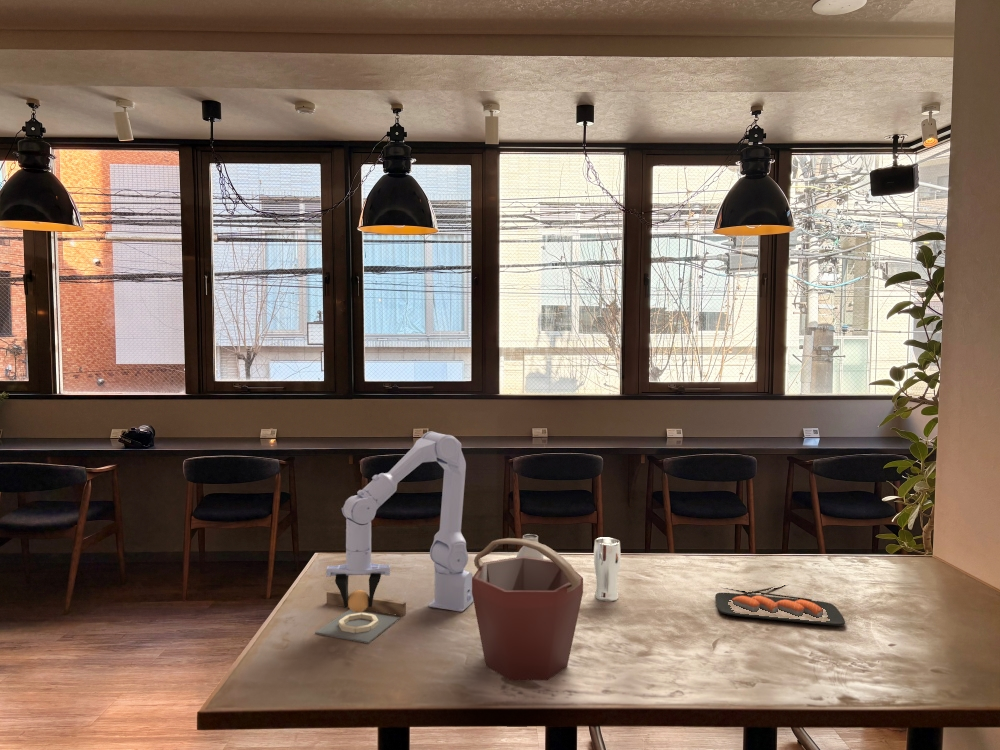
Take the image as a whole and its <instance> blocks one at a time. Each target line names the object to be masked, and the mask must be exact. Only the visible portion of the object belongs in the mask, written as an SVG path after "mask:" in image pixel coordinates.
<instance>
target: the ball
mask: <svg viewBox="0 0 1000 750" xmlns="http://www.w3.org/2000/svg"><path fill="white" fill-rule="evenodd" d="M349 594H350V595H349V597H348V606H349V607H348V608H349V609H350V610H352V611H354V612H362V611H363V612H365V611H366V610H365V609H366V608H367V607H368V605H369V594H368V592H367V591H365V590H363V589H355V590H353V591H352V592H351V593H349Z"/></svg>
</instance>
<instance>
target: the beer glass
mask: <svg viewBox="0 0 1000 750" xmlns="http://www.w3.org/2000/svg"><path fill="white" fill-rule="evenodd" d="M593 566H594V572H595V573H594V574H595V579H596V586H595V594H594V597H595V599H597V600H598V601H600V602H601V601H602V602H608V601H609V602H615V601H618V599H619V593H618V577H619V572H620V566H621V541H620V540H619V539H616V538H613V537H598V538H595V539H594V546H593Z"/></svg>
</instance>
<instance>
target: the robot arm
mask: <svg viewBox="0 0 1000 750" xmlns="http://www.w3.org/2000/svg"><path fill="white" fill-rule="evenodd" d="M432 462H436V463H438V464H439V466H440V467H441V468H442V469H443V482H442V494H441V495H442V496H441V508H440V519H439V530H438V531H437V532H436V533H435V534H434V536H433V542H432V545H431V546H430V550H429V558H430V559H431V561H432V562H433V563H434V566H433V567H434V598H433V600H432V601H430V603H428V605H427V607H429V608H433V609H442V610H446V611H447V610H449V611H454V612H463V611H464V610H466V609H467V608H468V607H469V606H471V604H473V603H474V601H473V595H472V578H473V576H474V575H473V573H472V572H471V571H467V570H465V568H466V566H467V564H468V563H469V554H468V551H467V542H466V539H465V537H464V536H463V534H462V520H463V510H464V509H463V507H464V496H465V495H464V493H465V485H466V484H465V480H466V469H467V462H466V459H465V456H464V453H463V451H462V443H461V442H460V440H458V439H457V438H456V437H455V436H453V435H451V434H443V433H440V432H436V431H432V430H431V431H428V432H425V433H424V434H423V435H422V437H420V438H418V439H416V441H415V442H414V444H413V446H412V448H411V449H410V450H408V451H407V452H406V454H404V456H403V457H401V459H399V460H398V462H397V463H396V464H395V465H393V467H392V468H391V469H390V470H389V471H388V472H385V473H384V472H381V473H379V474H374V475H373V476H372V477H371V479H372V480H371V481H370V482H369V483H367V485H366V486H364V487H363V488H362V489H359V490H358V491H356V492H357V495H351V496H350V497H348V498H347V499H345V501H344V504H343V507H341V512H342V515H343V516H344V517H345V519H346V520H345V522H346V523H345V524H346V525H345V527H346V529H345V558H346V559H345V563H344V564H337V565H327V567H326V570H325V571H326V573H325V575H326V577H327V578H329V577H335V580H334V582H335V584H336V586H337V588H338V590H339V592H340V593H341V595H342V598H343V602H344V606H343V608H349V607H348V593H349V576H369V577H368V588H369V589H368V591H369V594H368V596H369V607H372V604H373V597H375V594H376V590H377V588H378V585H379V583H380V580H381V577H382V576H383V575H384V576H386V577H387V576H390V575H391V564H380V563H372V521H373V520H374V519H375V516H376V514H377V510H378V509H379V508H380V507H381V506H382V505H383V504H384V503H385V502H386V501H387V500H388V499H390V498H391V496H393V495H394V494H395V493H396V492H397V489H398V483H399V482H400V481H402V480H403V479H404V478H405V477H406V476H408V475H409V474H410V473H411V472H413V471H414V470H415V469H416V468H417V467H419V466H420V465H421V464H423V463H432Z"/></svg>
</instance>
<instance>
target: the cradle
mask: <svg viewBox="0 0 1000 750" xmlns="http://www.w3.org/2000/svg"><path fill="white" fill-rule="evenodd" d="M397 620H398V621H399V620H401V619H400V616H393V615H387V614H382V613H381V614H379V613H376V612H370V611H369V612H367V611H362V612H354V611H352V610H351V609H350V608H349V609H348V610H346V611H345V612H344V613H342V614H340V615H339V616H338V617H336V618H334V619H333V620H331V621H330V622H328V623H327V624H326V625H324V626H322V627H321V628H319V629H318V630H316V631H315V634H316V635H319V636H326V637H329V638H330V637H332V638H337V639H342V640H348V641H352V640H353V641H352V642H358V643H363V642H364V643H365V644H370V643H372V642H373V641H374V640H376V637H377V636H378V635H379V634H380V635H382V634H383V633H384V632H386V631H387V630H388V629H390V628H391V627H392V626H393V625H394V624H395V622H396V621H397ZM398 621H397V622H398ZM397 622H396V623H397ZM392 624H393V625H392ZM391 625H392V626H391ZM390 626H391V627H390ZM387 628H388V629H387ZM386 629H387V630H386ZM385 630H386V631H385ZM383 631H384V632H383ZM382 632H383V633H382ZM381 633H382V634H381ZM380 635H379V636H380ZM379 636H378V637H379ZM378 637H377V638H378ZM372 640H373V641H372ZM371 641H372V642H371Z"/></svg>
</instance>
